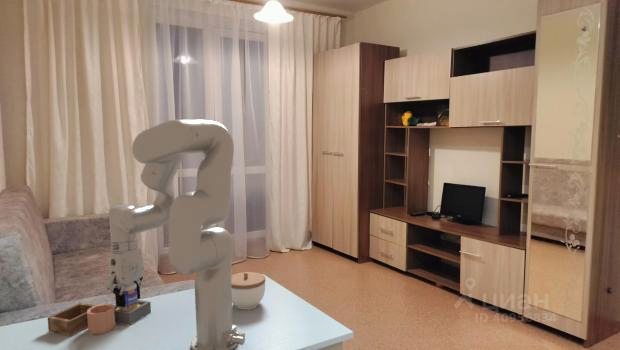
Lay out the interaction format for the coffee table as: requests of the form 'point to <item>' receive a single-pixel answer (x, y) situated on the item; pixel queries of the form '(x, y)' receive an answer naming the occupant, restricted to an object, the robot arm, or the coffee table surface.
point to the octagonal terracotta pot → (101, 318)
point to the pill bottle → (130, 297)
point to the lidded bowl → (247, 289)
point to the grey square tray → (132, 313)
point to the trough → (70, 320)
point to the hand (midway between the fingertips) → (128, 301)
